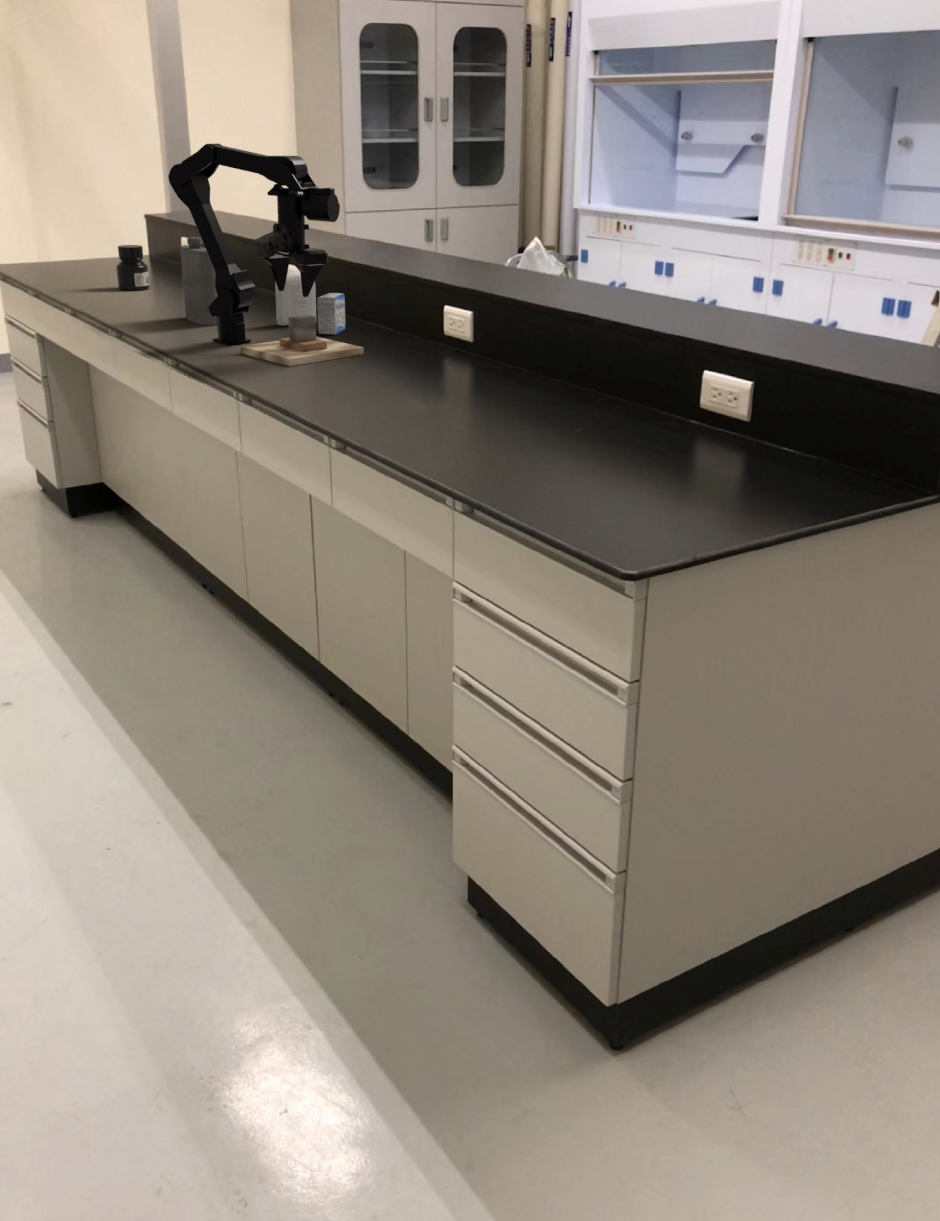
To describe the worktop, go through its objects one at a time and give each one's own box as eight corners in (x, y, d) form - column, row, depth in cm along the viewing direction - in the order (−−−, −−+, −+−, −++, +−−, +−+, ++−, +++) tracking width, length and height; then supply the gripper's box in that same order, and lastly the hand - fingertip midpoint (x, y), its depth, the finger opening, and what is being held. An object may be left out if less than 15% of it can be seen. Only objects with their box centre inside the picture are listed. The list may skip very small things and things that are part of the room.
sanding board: (240, 353, 243) (239, 346, 242) (313, 342, 256) (312, 335, 255) (290, 366, 231) (289, 358, 231) (363, 354, 245) (363, 347, 244)
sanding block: (279, 345, 244) (278, 315, 241) (301, 342, 248) (300, 312, 245) (304, 351, 238) (303, 320, 235) (326, 348, 242) (325, 317, 239)
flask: (180, 317, 283) (173, 234, 275) (202, 315, 286) (196, 234, 278) (200, 326, 272) (194, 240, 264) (223, 324, 275) (217, 239, 266)
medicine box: (335, 335, 265) (334, 297, 262) (318, 334, 266) (316, 296, 262) (345, 329, 272) (344, 293, 269) (328, 328, 273) (327, 292, 269)
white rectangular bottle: (311, 321, 282) (309, 270, 277) (319, 323, 279) (317, 272, 274) (274, 324, 277) (271, 272, 272) (281, 326, 274) (278, 274, 269)
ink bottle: (144, 291, 322) (140, 248, 317) (114, 290, 322) (109, 247, 317) (153, 286, 331) (149, 244, 326) (124, 286, 331) (119, 243, 326)
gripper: (235, 216, 239) (238, 290, 246) (285, 224, 227) (287, 302, 234) (278, 214, 246) (280, 287, 253) (329, 222, 234) (330, 298, 241)
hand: (293, 293), depth 245 cm, fingers open, 9 cm apart
